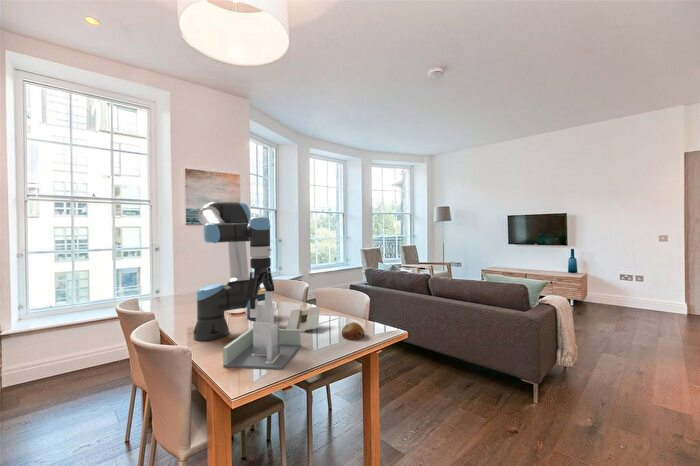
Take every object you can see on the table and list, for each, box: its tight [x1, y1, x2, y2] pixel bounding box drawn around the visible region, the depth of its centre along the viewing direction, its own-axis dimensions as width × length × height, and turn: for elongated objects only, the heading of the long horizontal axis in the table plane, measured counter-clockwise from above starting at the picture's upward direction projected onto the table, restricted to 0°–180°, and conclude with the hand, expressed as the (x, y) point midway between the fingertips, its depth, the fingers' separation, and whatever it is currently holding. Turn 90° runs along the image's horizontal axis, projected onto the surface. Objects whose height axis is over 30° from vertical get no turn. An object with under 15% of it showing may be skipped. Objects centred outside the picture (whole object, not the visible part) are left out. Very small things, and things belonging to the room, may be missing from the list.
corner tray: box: [222, 327, 302, 370], centre depth 119 cm, size 22×22×7 cm
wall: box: [285, 306, 321, 333], centre depth 152 cm, size 16×9×15 cm
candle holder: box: [255, 300, 275, 323], centre depth 155 cm, size 10×10×12 cm
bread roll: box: [341, 321, 366, 341], centre depth 138 cm, size 10×10×8 cm
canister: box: [246, 286, 266, 321], centre depth 172 cm, size 13×13×18 cm
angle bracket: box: [252, 321, 280, 363], centre depth 115 cm, size 10×8×12 cm
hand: (261, 312), depth 118 cm, fingers open, 13 cm apart
